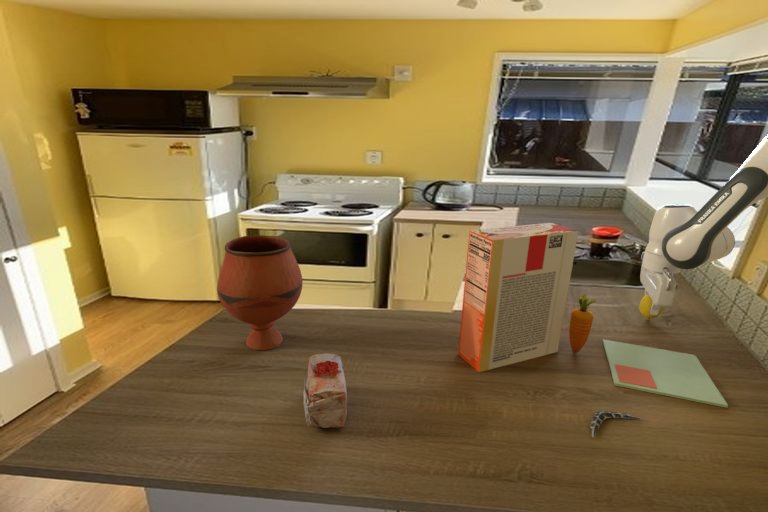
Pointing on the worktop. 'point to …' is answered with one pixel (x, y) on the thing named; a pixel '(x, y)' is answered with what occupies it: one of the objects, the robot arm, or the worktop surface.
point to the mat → (661, 372)
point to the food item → (325, 392)
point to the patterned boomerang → (602, 415)
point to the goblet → (259, 285)
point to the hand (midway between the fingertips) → (650, 309)
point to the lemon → (647, 307)
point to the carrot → (580, 324)
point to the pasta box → (515, 293)
